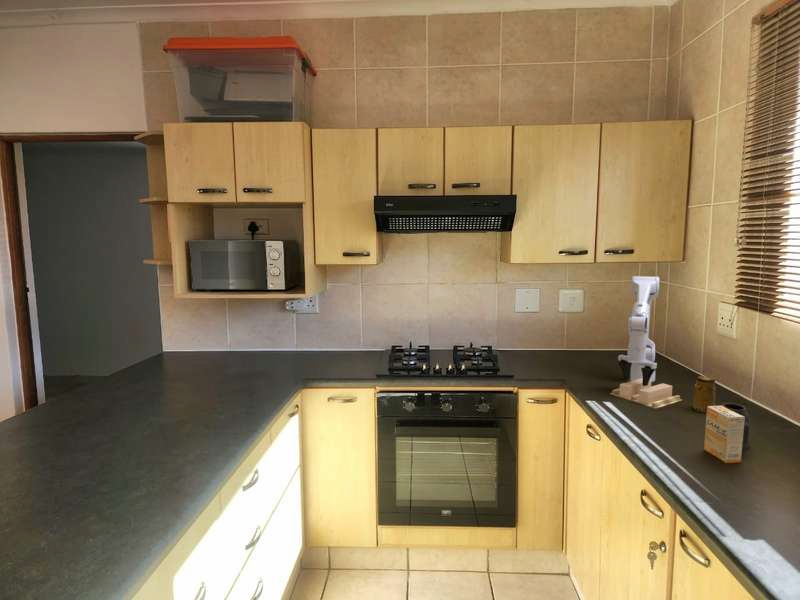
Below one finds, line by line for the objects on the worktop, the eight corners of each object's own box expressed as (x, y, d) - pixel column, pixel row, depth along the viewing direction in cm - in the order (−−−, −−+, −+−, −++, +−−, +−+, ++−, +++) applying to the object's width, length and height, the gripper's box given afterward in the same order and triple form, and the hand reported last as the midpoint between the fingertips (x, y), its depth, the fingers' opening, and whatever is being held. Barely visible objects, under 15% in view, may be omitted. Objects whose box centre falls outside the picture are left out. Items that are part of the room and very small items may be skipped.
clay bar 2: (662, 394, 177) (663, 383, 176) (671, 397, 174) (672, 385, 173) (638, 401, 170) (639, 389, 170) (648, 404, 167) (648, 392, 166)
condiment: (700, 407, 166) (702, 374, 165) (725, 414, 159) (727, 380, 157) (686, 410, 163) (688, 377, 161) (712, 418, 155) (714, 383, 154)
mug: (707, 435, 143) (709, 400, 141) (741, 437, 141) (743, 401, 139) (725, 453, 131) (728, 414, 130) (762, 455, 129) (765, 416, 128)
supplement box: (702, 450, 134) (705, 405, 132) (718, 449, 134) (721, 404, 132) (725, 463, 125) (728, 416, 124) (742, 462, 126) (745, 415, 124)
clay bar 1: (641, 389, 184) (642, 377, 183) (650, 391, 181) (651, 380, 180) (619, 395, 177) (619, 384, 176) (628, 398, 174) (628, 386, 173)
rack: (636, 388, 187) (636, 382, 187) (682, 402, 171) (682, 396, 171) (609, 395, 180) (609, 389, 179) (655, 410, 164) (655, 404, 163)
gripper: (613, 345, 181) (612, 379, 183) (648, 353, 168) (647, 389, 170) (625, 343, 184) (624, 376, 186) (661, 350, 172) (659, 386, 173)
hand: (635, 382), depth 178 cm, fingers open, 7 cm apart
